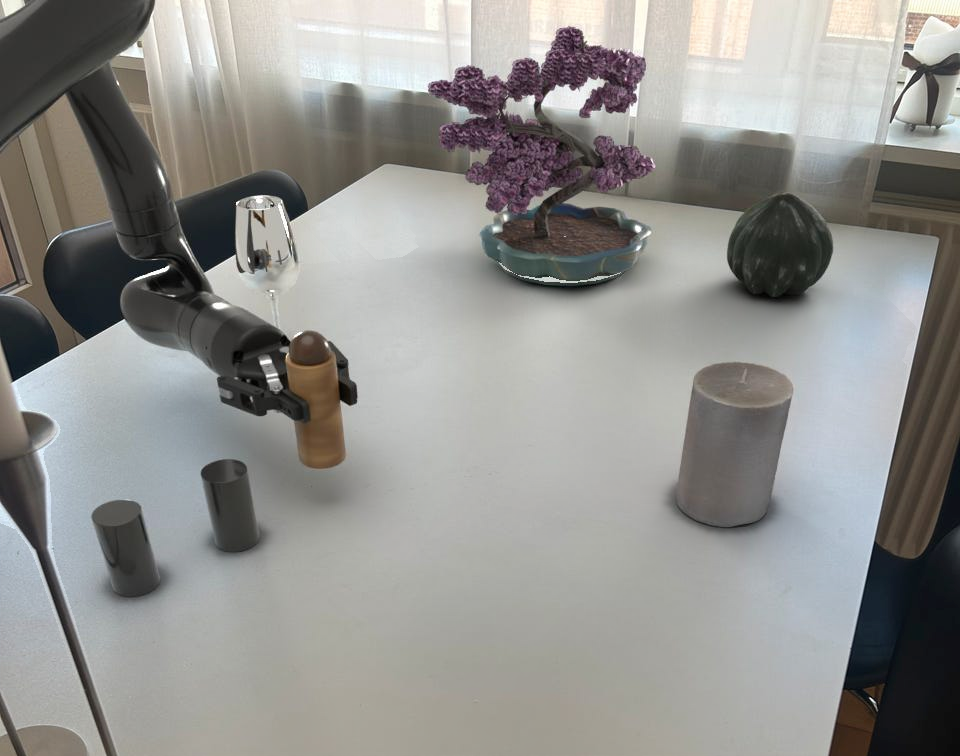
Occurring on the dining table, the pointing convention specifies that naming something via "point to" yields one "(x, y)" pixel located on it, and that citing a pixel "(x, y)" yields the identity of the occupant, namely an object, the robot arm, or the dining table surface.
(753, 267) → the squash
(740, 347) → the dining table surface
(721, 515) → the pillar candle
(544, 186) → the bonsai tree
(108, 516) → the dark grey upright cylinder
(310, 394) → the pepper mill
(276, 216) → the wineglass
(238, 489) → the grey upright cylinder
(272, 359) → the robot arm
